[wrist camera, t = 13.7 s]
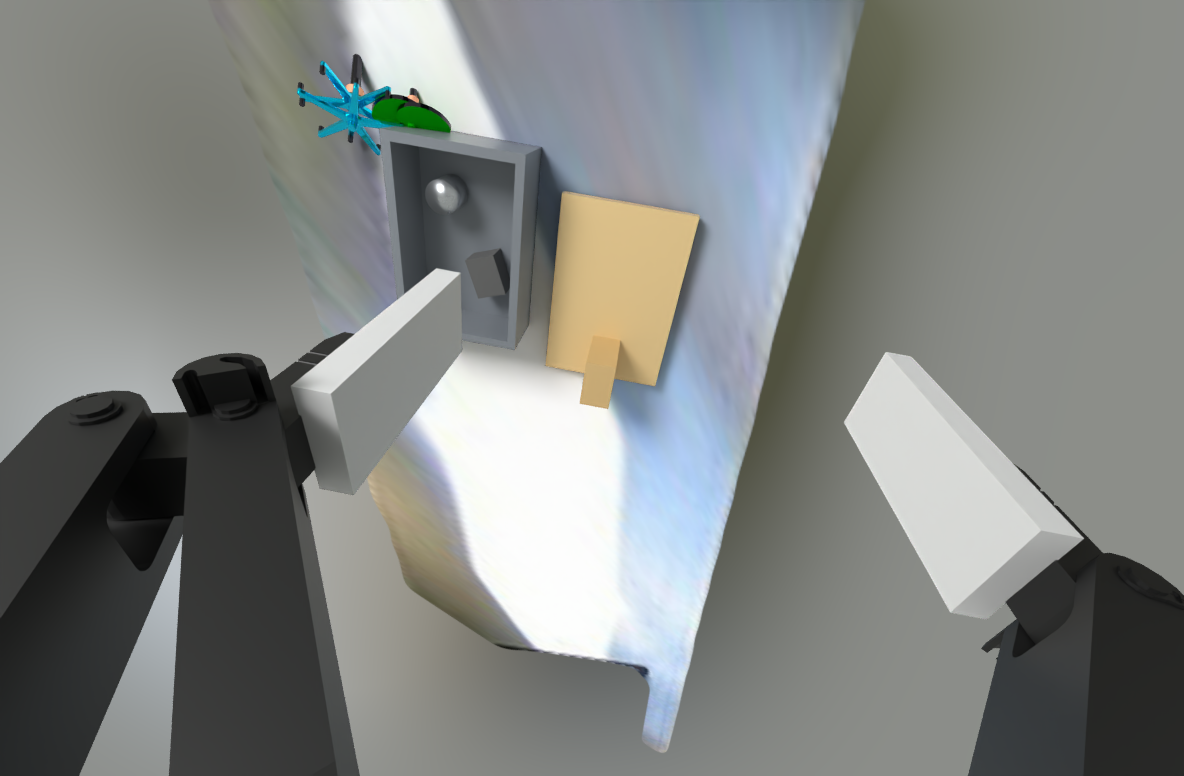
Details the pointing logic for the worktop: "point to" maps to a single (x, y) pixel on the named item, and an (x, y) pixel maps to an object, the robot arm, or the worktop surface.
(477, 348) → the worktop surface
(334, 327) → the worktop surface
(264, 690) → the robot arm
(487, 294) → the rubber block
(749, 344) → the worktop surface
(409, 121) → the small teal pieces
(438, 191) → the dark grey round lump
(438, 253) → the tub
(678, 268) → the lid
